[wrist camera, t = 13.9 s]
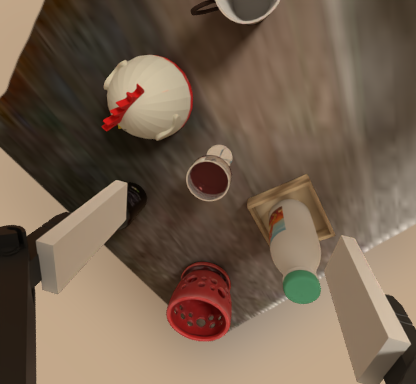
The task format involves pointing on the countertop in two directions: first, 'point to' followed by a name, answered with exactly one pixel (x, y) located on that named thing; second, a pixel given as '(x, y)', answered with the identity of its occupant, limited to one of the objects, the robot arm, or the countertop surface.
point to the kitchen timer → (148, 97)
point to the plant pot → (201, 302)
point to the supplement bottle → (133, 203)
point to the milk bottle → (295, 249)
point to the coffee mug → (240, 9)
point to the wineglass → (211, 174)
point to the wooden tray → (290, 190)
